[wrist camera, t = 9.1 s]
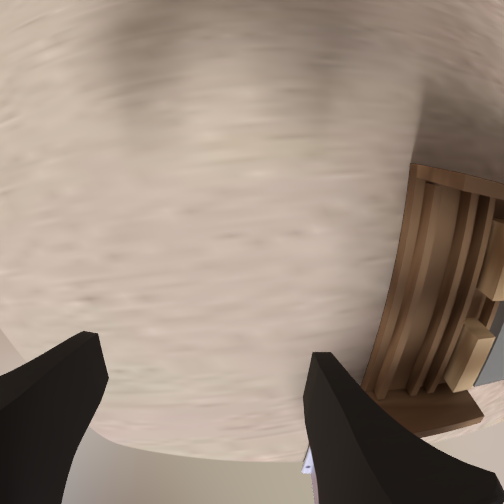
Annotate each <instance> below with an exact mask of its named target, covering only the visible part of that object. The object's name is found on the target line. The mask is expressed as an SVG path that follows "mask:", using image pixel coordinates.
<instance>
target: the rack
mask: <svg viewBox="0 0 504 504" xmlns="http://www.w3.org/2000/svg"><path fill="white" fill-rule="evenodd" d="M493 218H497V219H502V220H504V184H501V183H498V182H494V181H490V180H487V179H483V178H479V177H475V176H471V175H467V174H463V173H458V172H454V171H449V170H444V169H439V168H434V167H429V166H423V165H418V164H412V163H410V172H409V181H408V189H407V197H406V204H405V211H404V217H403V223H402V229H401V235H400V240H399V246H398V251H397V256H396V261H395V266H394V270H393V275H392V279H391V284H390V288H389V292H388V296H387V301H386V304H385V308H384V312H383V316H382V320H381V323H380V327H379V331H378V334H377V338H376V341H375V344H374V348H373V351H372V354H371V357H370V360H369V364H368V367H367V370H366V373H365V376H364V379H363V382H362V384H361V388H362V389H363V390H364V391H365V392H366V393H367V394H368V395H369V396H370V397H371V398H372V399H373V400H374V401H375V402H376V403H377V404H378V405H379V406H380V407H381V408H382V409H383V410H384V411H385V412H386V413H387V414H389V415H390V416H391V417H392V418H393V419H394V420H396V421H397V422H398V423H400V424H401V425H402V426H403V427H405V428H406V429H407V430H409V431H410V432H411V433H413V434H414V435H416V436H417V437H419V438H422V437H427V436H431V435H436V434H440V433H444V432H448V431H452V430H456V429H459V428H463V427H467V426H470V425H473V424H477V423H480V422H481V420H482V419H483V417H484V414H483V413H482V411H481V410H480V408H479V407H478V405H477V404H476V402H475V401H474V399H473V398H472V396H471V395H470V393H469V392H468V391H467V390H464V391H459V392H454V393H453V392H452V390H451V389H450V387H449V386H448V384H447V383H446V381H445V380H444V378H443V377H442V374H443V372H444V370H445V368H446V366H447V363H448V361H449V359H450V357H451V354H452V352H453V349H454V347H455V345H456V342H457V340H458V337H459V335H460V332H461V329H462V327H463V324H464V321H465V318H477V319H478V320H479V321H480V322H481V323H482V324H483V325H484V326H485V327H486V328H487V329H488V330H490V327H491V325H492V322H493V320H494V317H495V314H496V311H497V309H498V306H499V303H500V301H492V300H491V299H489V298H488V297H487V296H486V295H485V294H483V293H482V292H481V291H480V290H478V289H477V288H476V285H477V281H478V278H479V274H480V271H481V267H482V263H483V260H484V256H485V251H486V247H487V243H488V238H489V234H490V229H491V224H492V219H493Z"/></svg>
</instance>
